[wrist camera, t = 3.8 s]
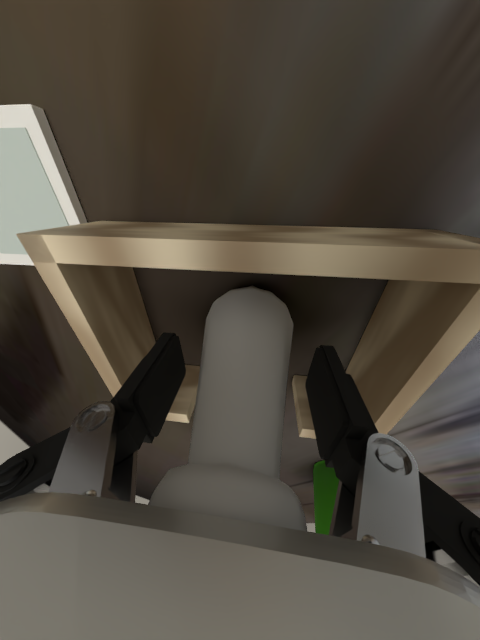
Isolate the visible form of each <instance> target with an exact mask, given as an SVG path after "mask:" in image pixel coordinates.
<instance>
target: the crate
mask: <svg viewBox="0 0 480 640" xmlns="http://www.w3.org/2000/svg"><path fill="white" fill-rule="evenodd" d="M16 235H17V237H18V238H19V240H20V242H21V243H22V245H23V247H24V248H25V250H26V252H27V253H28V255H29V257H30V258H31V260H32V262H33V263H34V265H35V267H36V268H37V270H38V272H39V273H40V275H41V277H42V278H43V280H44V282H45V283H46V285H47V287H48V288H49V290H50V292H51V294H52V295H53V297H54V299H55V300H56V302H57V304H58V305H59V307H60V309H61V310H62V312H63V314H64V315H65V317H66V319H67V320H68V322H69V324H70V325H71V327H72V329H73V330H74V332H75V334H76V335H77V337H78V339H79V340H80V342H81V344H82V345H83V347H84V349H85V350H86V352H87V354H88V355H89V357H90V359H91V360H92V362H93V364H94V365H95V367H96V369H97V370H98V372H99V374H100V375H101V377H102V379H103V380H104V382H105V384H106V385H107V387H108V389H109V390H110V392H111V394H112V395H113V397H114V396H115V395H116V393H117V392H118V391H119V389H120V388H121V387H122V385H123V384H124V383H125V381H126V380H127V379H128V377H129V376H130V375H131V373H132V372H133V371H134V369H135V368H136V367H137V365H138V364H139V363H140V362H141V360H142V359H143V358H144V357H145V356H146V355H147V354H148V353H149V351H150V350H151V349H152V347H153V346H154V345H155V343H156V341H155V338H154V335H153V332H152V328H151V325H150V322H149V319H148V316H147V312H146V309H145V306H144V303H143V299H142V296H141V293H140V290H139V287H138V283H137V280H136V277H135V274H134V271H133V267H145V268H165V269H186V270H206V271H226V272H247V273H267V274H288V275H308V276H329V277H349V278H370V279H389V281H388V283H387V285H386V287H385V289H384V291H383V293H382V295H381V298H380V300H379V302H378V304H377V306H376V308H375V310H374V312H373V314H372V317H371V319H370V321H369V323H368V325H367V327H366V329H365V331H364V334H363V336H362V338H361V340H360V342H359V344H358V346H357V348H356V350H355V353H354V355H353V357H352V359H351V361H350V363H349V365H348V367H347V370H346V374H350V375H351V376H352V378H353V380H354V382H355V384H356V386H357V388H358V390H359V393H360V395H361V397H362V399H363V401H364V403H365V405H366V407H367V409H368V411H369V414H370V416H371V418H372V420H373V422H374V424H375V426H376V428H377V430H378V432H379V433H382V434H387V433H388V432H389V431H390V430H391V429H392V428H393V427H394V426H395V424H396V423H397V422H398V421H399V420H400V419H401V418H402V417H403V415H404V414H405V413H406V412H407V411H408V410H409V409H410V408H411V406H412V405H413V404H414V403H415V402H416V401H417V400H418V399H419V398H420V396H421V395H422V394H423V393H424V392H425V391H426V390H427V389H428V387H429V386H430V385H431V384H432V383H433V382H434V381H435V380H436V379H437V377H438V376H439V375H440V374H441V373H442V372H443V371H444V370H445V368H446V367H447V366H448V365H449V364H450V363H451V362H452V361H453V359H454V358H455V357H456V356H457V355H458V354H459V353H460V352H461V351H462V349H463V348H464V347H465V346H466V345H467V344H468V343H469V342H470V340H471V339H472V338H473V337H474V336H475V335H476V334H477V333H478V331H479V330H480V238H476V237H471V236H466V235H461V234H456V233H451V232H446V231H441V230H433V229H395V228H357V227H318V226H280V225H241V224H203V223H165V222H126V221H97V222H90V223H83V224H77V225H70V226H64V227H57V228H51V229H44V230H38V231H31V232H25V233H18V234H16ZM185 368H186V374H185V377H184V379H183V382H182V384H181V386H180V388H179V391H178V393H177V395H176V397H175V400H174V402H173V404H172V406H171V408H170V411H169V413H168V415H167V417H166V420H169V421H177V422H185V423H189V421H190V418H191V415H192V412H193V409H194V406H195V403H196V396H197V388H198V380H199V372H200V366H195V365H185ZM306 379H307V376H300V375H294V377H293V381H292V388H293V395H294V402H295V409H296V416H297V424H298V431H299V437H306V438H314V439H316V436H315V431H314V426H313V421H312V416H311V412H310V407H309V402H308V397H307V392H306V387H305V383H306Z"/></svg>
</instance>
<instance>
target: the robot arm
mask: <svg viewBox="0 0 480 640" xmlns="http://www.w3.org/2000/svg"><path fill="white" fill-rule="evenodd" d="M185 374H186V368H185V363H184V359H183V354H182V349H181V345H180V340H179V337H178V336H176V334H174V333H163V334H162V335H161V336H160V338H159V339H158V341H157V342H156V343H155V345H154V346H153V347H152V349H151V350H150V351H149V353H148V354H147V355H146V356H145V357H144V358H143V359H142V360H141V362H140V363H139V364H138V365H137V367H136V368H135V369H134V371H133V372H132V373H131V375H130V376H129V377H128V379H127V380H126V381H125V383H124V384H123V385H122V387H121V388H120V389H119V391H118V392H117V393H116V395H115V396H114V397H113V399H112V400H111V401H110V402H109V401H100V402H96V403H94V404H91V405H89V406H88V407H86V408H85V409H83V410H82V411H81V412H80V413H79V414H78V415H77V416H76V417H75V419H74V421H73V423H72V425H71V427H69V428H68V429H66V430H64V431H62V432H60V433H58V434H56V435H54V436H52V437H50V438H48V439H46V440H44V441H42V442H40V443H38V444H36V445H34V446H32V447H30V448H28V449H26V450H24V451H22V452H20V453H18V454H16V455H15V456H13V457H11V458H10V459H8V460H7V461H6V462H4V463H3V464H2V465H0V640H480V518H479V517H477V516H476V515H475V514H473V513H472V512H471V511H470V510H468V509H467V508H466V507H464V506H463V505H462V504H460V503H459V502H458V501H457V500H455V499H454V498H453V497H451V496H450V495H449V494H448V493H446V492H445V491H444V490H442V489H441V488H440V487H439V486H437V485H436V484H435V483H433V482H432V481H431V480H429V479H428V478H427V477H426V476H424V475H423V474H422V473H420V472H419V471H418V467H417V463H416V461H415V459H414V457H413V455H412V454H411V453H410V452H409V450H408V449H407V448H406V447H405V446H404V445H403V444H402V443H400V442H399V441H398V440H396V439H395V438H393V437H391V436H389V435H386V434H382V433H379V432H378V430H377V428H376V426H375V424H374V422H373V420H372V418H371V416H370V414H369V411H368V409H367V407H366V405H365V403H364V401H363V399H362V397H361V395H360V393H359V390H358V388H357V386H356V384H355V382H354V380H353V378H352V376H351V375H350V374H346V372H345V370H344V368H343V366H342V363H341V361H340V359H339V357H338V355H337V352H336V350H335V348H334V347H333V346H325V345H321V346H320V348H316V350H315V353H314V357H313V360H312V363H311V366H310V369H309V373H308V376H307V379H306V383H305V387H306V392H307V397H308V402H309V407H310V412H311V416H312V421H313V426H314V431H315V436H316V440H317V445H318V450H319V454H320V457H321V459H324V460H325V465H326V467H330V468H334V470H335V474H336V477H337V478H338V479H339V484H338V489H337V494H336V499H335V504H334V509H333V514H332V519H331V525H330V530H329V535H325V534H319V533H313V532H307V531H301V530H296V529H290V528H284V527H278V526H272V525H267V524H261V523H255V522H249V521H243V520H237V519H231V518H225V517H219V516H213V515H207V514H201V513H195V512H189V511H183V510H177V509H171V508H165V507H158V506H152V505H146V504H140V503H135V493H136V473H137V454H138V450H139V449H140V447H141V445H142V443H143V442H146V443H152V441H153V439H154V437H157V436H158V435H159V433H160V431H161V429H162V426H163V424H164V422H165V420H166V417H167V415H168V413H169V411H170V408H171V406H172V404H173V402H174V400H175V397H176V395H177V393H178V391H179V388H180V386H181V384H182V382H183V379H184V377H185Z"/></svg>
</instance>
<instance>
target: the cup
mask: <svg viewBox="0 0 480 640" xmlns="http://www.w3.org/2000/svg"><path fill="white" fill-rule="evenodd" d="M313 481H314V506H315V530H316V533H319V534H325V535H329V530H330V525H331V519H332V514H333V509H334V504H335V499H336V494H337V489H338V484H339V479H338V478H337V477H336V474H335V470H334V468H330V467H326V465H325V460H324V461H320V462H317V463H316V464H315V465H314V469H313Z"/></svg>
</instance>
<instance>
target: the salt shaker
mask: <svg viewBox="0 0 480 640" xmlns="http://www.w3.org/2000/svg"><path fill="white" fill-rule="evenodd" d="M293 325H294V324H293V321H292V319H291V316H290V314H289V311H288V308H287V306H286V304H285V303H284V302H282V301H281V300H280V299H279V298H278V297H276V296H275V295H274V294H273V293H272V292H270V291H266V290H262V289H259V288H257V287H255V286H253V285H252V286H250V287H244V288H238V289H232V290H230V291H228V292H227V293H225V294H224V295H223V296H221V297H220V298H218V299H217V300H215V301H214V303H213V304H212V306H211V309H210V311H209V313H208V315H207V318H206V324H205V332H204V340H203V348H202V356H201V364H200V372H199V380H198V388H197V396H196V404H195V412H194V420H193V428H192V436H191V444H190V452H189V460H188V464H186V465H183V466H179V467H175V468H171V469H169V471H168V472H167V473H166V475H165V476H164V477H163V479H162V480H161V482H160V483H159V485H158V486H157V488H156V489H155V491H154V492H153V494H152V497H151V499H150V502H149V504H148V505H152V506H158V507H165V508H171V509H177V510H183V511H189V512H195V513H201V514H207V515H213V516H219V517H225V518H231V519H237V520H243V521H249V522H255V523H261V524H267V525H272V526H278V527H284V528H290V529H296V530H301V531H307V526H306V520H305V515H304V512H303V509H302V506H301V503H300V500H299V498H298V497H297V496H296V494H295V493H294V492H293V490H292V489H291V488H290V487H289V486H288V485H286V484H285V483H283V482H282V481H280V480H279V475H280V462H281V450H282V438H283V426H284V414H285V402H286V389H287V378H288V370H289V361H290V352H291V343H292V334H293Z"/></svg>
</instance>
